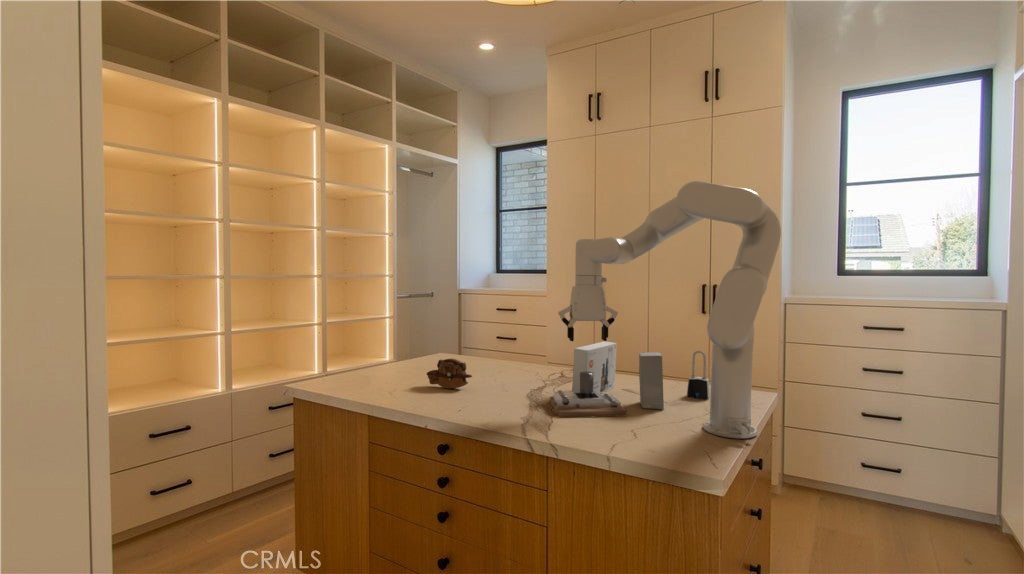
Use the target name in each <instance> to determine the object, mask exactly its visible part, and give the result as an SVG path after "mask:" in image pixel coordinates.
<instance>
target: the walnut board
mask: <svg viewBox="0 0 1024 574" xmlns="http://www.w3.org/2000/svg"><path fill="white" fill-rule="evenodd" d="M549 402H550V405H551V406H552V407H553V409H554V411H555V413H556V414H557V417H558V418H576V417H577V418H586V417H587V418H588V417H589V418H590V417H591V416H597V417H627V410H626V409H625V408H624V407H623V406H622V405H621V407H580V408H558V406H557V405H556V403H555V401H554V396H549Z"/></svg>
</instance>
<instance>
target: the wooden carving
mask: <svg viewBox="0 0 1024 574" xmlns="http://www.w3.org/2000/svg"><path fill="white" fill-rule="evenodd" d="M436 367H437V369H432V370H429V371H428V372H426V376H427V378H428V380H429V382H428V383H429V384H430V385H438V386H440V388H441V387H442V388H444V389H459V388H462V387H464V386H466V385H468V384H469V382H468V381H467V379H468V378H473V375H472V374H467V372H466V370H467V364H466V362H463V361H461V360H459V359H456V358H446V359H438V361H437V363H436Z"/></svg>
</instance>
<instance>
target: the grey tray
mask: <svg viewBox="0 0 1024 574" xmlns="http://www.w3.org/2000/svg"><path fill="white" fill-rule="evenodd" d="M553 397H554V401H555V403H556V405H557V406H558V408H580V407H621V406H622V403H621V402H620V401H619V400H618V399H617V397H616V396H614V395H612V394H611V395H610V394H608V393H603V394H602V395H601V394H599V393H598V392H593V398H579V392H572V391H563V390H560V389H559V390H558V391H553Z"/></svg>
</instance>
